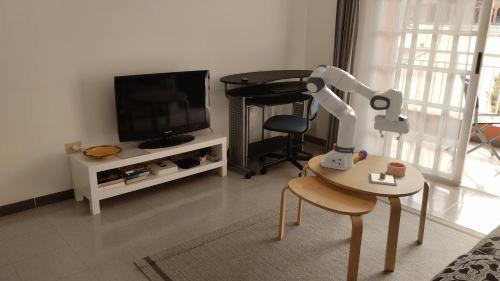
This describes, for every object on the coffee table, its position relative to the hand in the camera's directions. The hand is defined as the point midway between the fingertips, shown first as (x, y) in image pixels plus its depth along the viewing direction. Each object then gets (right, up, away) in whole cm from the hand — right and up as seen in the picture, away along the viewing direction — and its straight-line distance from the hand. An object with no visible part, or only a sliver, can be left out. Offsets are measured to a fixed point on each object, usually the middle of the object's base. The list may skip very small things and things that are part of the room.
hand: (389, 138), depth 233 cm
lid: (-4, -25, +3) cm, 26 cm away
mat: (-4, -26, +3) cm, 26 cm away
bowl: (+9, -23, +14) cm, 28 cm away
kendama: (-8, -16, +39) cm, 42 cm away
